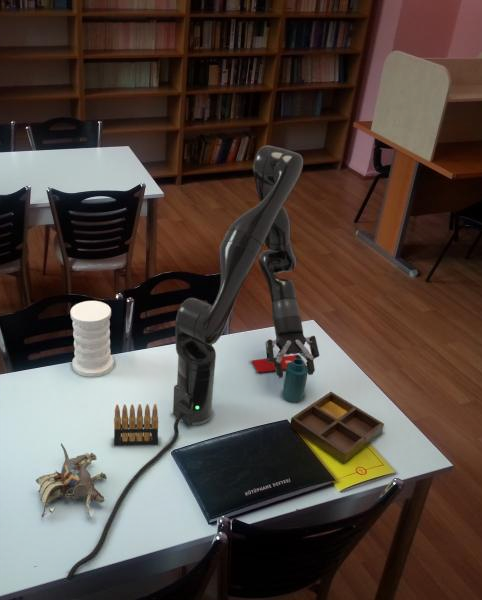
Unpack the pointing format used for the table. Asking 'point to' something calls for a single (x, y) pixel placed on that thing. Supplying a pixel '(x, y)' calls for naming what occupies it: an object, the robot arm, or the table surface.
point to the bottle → (295, 381)
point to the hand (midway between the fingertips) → (296, 376)
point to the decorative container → (91, 338)
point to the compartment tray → (336, 426)
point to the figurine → (71, 482)
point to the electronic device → (263, 365)
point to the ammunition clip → (135, 427)
